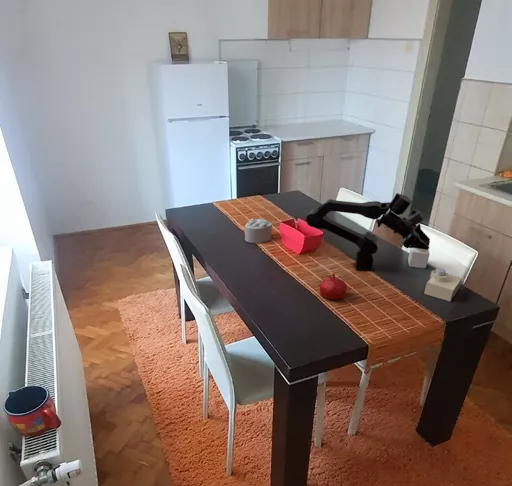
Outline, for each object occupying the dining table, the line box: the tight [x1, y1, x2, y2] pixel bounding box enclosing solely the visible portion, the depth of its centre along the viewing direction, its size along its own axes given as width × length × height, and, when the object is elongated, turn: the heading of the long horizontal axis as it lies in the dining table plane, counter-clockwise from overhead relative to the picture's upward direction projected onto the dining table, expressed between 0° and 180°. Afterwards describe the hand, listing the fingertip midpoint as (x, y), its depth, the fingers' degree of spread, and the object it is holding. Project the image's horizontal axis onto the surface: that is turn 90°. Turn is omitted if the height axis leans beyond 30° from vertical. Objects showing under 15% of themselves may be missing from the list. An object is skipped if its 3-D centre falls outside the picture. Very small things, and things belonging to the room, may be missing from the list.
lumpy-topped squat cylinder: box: [244, 218, 273, 244], centre depth 221 cm, size 10×13×9 cm
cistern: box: [424, 269, 463, 302], centre depth 183 cm, size 11×13×7 cm
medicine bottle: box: [407, 240, 431, 269], centre depth 202 cm, size 7×7×12 cm
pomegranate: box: [319, 272, 348, 301], centre depth 176 cm, size 10×10×9 cm
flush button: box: [435, 267, 447, 276], centre depth 182 cm, size 4×4×2 cm
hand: (429, 244), depth 187 cm, fingers open, 9 cm apart
